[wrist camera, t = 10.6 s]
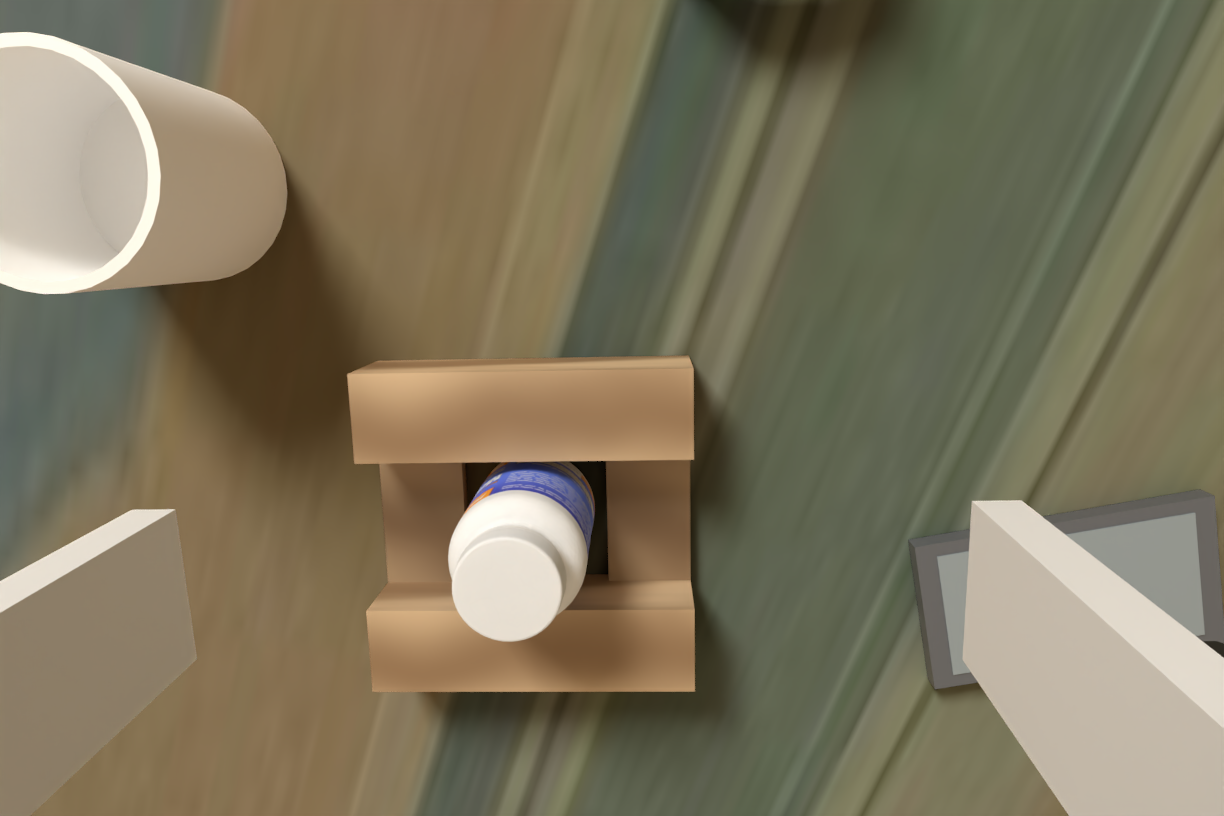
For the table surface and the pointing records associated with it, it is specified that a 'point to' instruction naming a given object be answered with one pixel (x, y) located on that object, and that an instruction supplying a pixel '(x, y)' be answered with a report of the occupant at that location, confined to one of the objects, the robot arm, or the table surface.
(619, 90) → the table surface
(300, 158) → the table surface
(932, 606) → the phone slab
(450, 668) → the socket holder
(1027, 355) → the table surface
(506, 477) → the pill bottle
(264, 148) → the cup
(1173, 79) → the table surface
